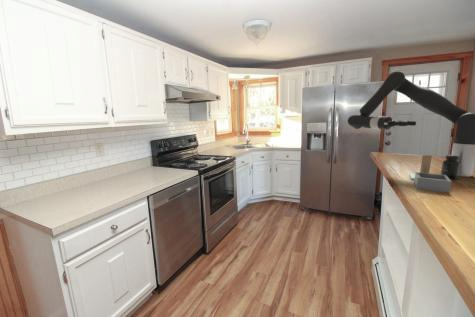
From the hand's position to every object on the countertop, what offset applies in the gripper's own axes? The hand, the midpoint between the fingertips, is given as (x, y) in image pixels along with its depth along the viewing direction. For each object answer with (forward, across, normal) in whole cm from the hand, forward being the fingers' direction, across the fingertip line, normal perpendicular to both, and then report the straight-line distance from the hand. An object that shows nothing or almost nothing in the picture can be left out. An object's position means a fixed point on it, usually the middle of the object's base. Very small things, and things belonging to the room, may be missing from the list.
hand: (411, 123), depth 122 cm
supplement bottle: (+15, +12, +28) cm, 34 cm away
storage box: (+19, -16, +28) cm, 38 cm away
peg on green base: (+11, -4, +28) cm, 30 cm away
